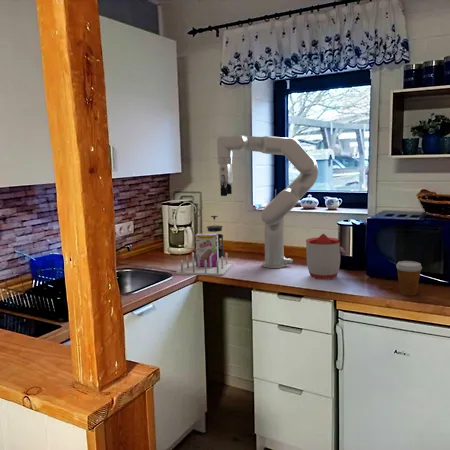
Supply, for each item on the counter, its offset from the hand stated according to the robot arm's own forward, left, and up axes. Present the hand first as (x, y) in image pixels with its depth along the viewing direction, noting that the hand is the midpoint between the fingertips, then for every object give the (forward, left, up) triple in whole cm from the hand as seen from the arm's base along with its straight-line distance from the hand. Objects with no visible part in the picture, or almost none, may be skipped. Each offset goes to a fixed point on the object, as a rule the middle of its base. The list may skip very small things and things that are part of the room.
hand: (226, 194), depth 233 cm
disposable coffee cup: (-83, +38, -36) cm, 98 cm away
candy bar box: (+9, +9, -36) cm, 38 cm away
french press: (+12, -17, -36) cm, 42 cm away
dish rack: (+9, +13, -36) cm, 40 cm away
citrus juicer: (-50, +18, -36) cm, 65 cm away
